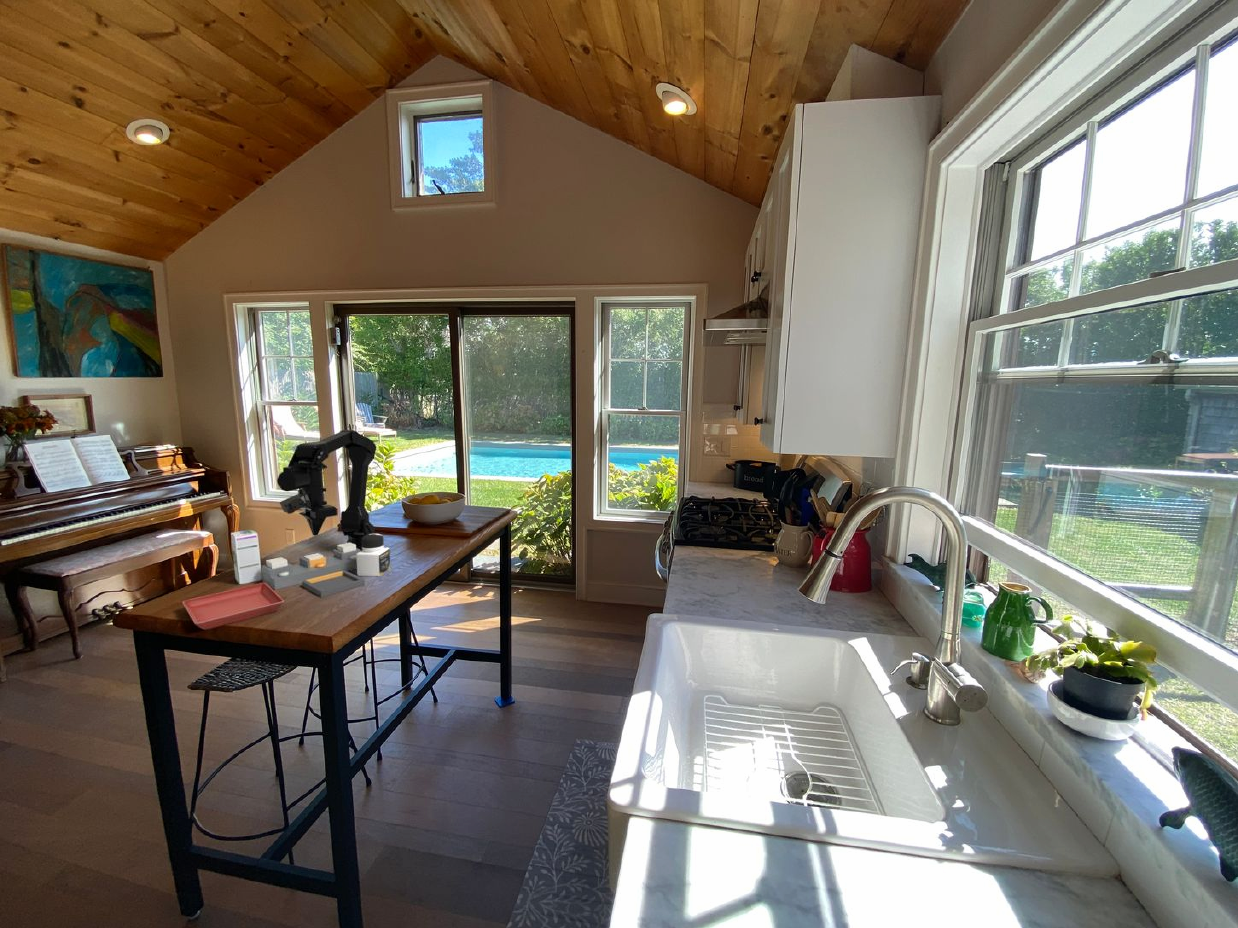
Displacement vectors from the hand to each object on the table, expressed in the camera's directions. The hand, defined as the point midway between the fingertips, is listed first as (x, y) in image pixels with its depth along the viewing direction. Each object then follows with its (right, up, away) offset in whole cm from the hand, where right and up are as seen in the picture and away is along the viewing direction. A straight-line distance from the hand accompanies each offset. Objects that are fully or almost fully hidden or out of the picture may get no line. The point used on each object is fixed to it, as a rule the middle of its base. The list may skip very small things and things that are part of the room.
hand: (315, 535), depth 159 cm
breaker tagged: (-1, -9, +1) cm, 9 cm away
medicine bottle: (+16, -12, +3) cm, 21 cm away
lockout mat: (+10, -14, -8) cm, 19 cm away
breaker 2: (+5, -7, +9) cm, 12 cm away
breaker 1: (-7, -9, -7) cm, 13 cm away
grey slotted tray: (0, -12, +1) cm, 12 cm away
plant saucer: (-5, -16, -26) cm, 32 cm away
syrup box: (-17, -13, -5) cm, 22 cm away
